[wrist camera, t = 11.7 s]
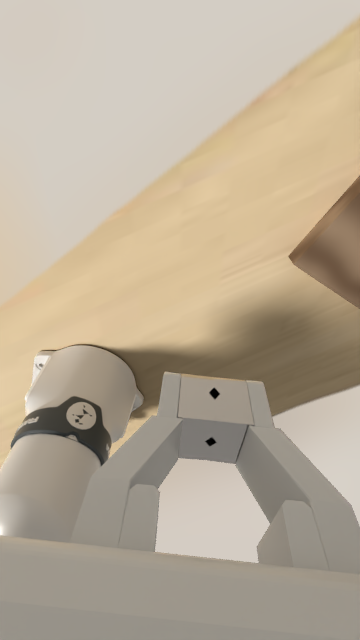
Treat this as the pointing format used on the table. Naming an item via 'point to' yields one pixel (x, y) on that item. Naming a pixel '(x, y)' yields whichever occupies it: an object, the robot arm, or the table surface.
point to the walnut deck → (335, 247)
